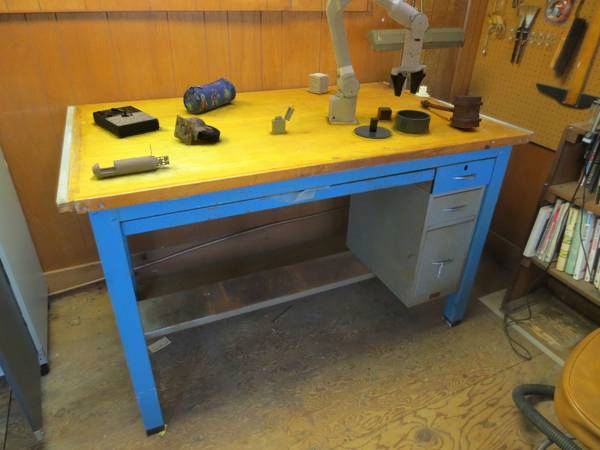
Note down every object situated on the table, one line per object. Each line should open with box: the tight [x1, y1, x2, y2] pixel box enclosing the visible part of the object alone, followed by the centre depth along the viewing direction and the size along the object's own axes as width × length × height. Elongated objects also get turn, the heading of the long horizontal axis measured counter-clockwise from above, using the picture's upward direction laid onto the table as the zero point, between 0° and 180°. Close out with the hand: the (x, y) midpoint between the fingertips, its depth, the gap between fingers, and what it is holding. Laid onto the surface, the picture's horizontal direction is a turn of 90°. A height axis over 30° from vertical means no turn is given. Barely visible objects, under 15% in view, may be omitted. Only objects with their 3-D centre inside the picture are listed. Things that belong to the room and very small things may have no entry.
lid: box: [353, 117, 393, 140], centre depth 135 cm, size 12×12×5 cm
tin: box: [393, 109, 432, 135], centre depth 139 cm, size 11×11×5 cm
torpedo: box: [91, 144, 170, 179], centre depth 103 cm, size 18×5×7 cm, turn 118°
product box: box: [308, 72, 330, 95], centre depth 180 cm, size 6×6×7 cm
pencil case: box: [182, 77, 237, 115], centre depth 153 cm, size 22×9×10 cm, turn 150°
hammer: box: [420, 95, 484, 129], centre depth 153 cm, size 7×33×10 cm, turn 16°
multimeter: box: [92, 105, 160, 139], centre depth 133 cm, size 13×19×5 cm
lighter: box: [271, 106, 295, 135], centre depth 133 cm, size 7×2×8 cm, turn 112°
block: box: [376, 106, 393, 121], centre depth 149 cm, size 4×4×4 cm
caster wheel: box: [173, 114, 221, 146], centre depth 125 cm, size 7×11×10 cm
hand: (405, 94), depth 145 cm, fingers open, 7 cm apart
